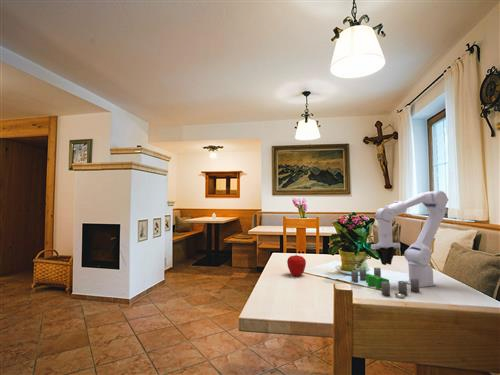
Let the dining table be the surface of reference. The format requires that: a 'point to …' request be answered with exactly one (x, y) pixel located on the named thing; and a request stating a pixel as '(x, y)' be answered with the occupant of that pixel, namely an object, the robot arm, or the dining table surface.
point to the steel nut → (399, 295)
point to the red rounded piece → (296, 265)
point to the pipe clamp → (375, 281)
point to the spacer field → (386, 285)
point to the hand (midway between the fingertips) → (386, 264)
